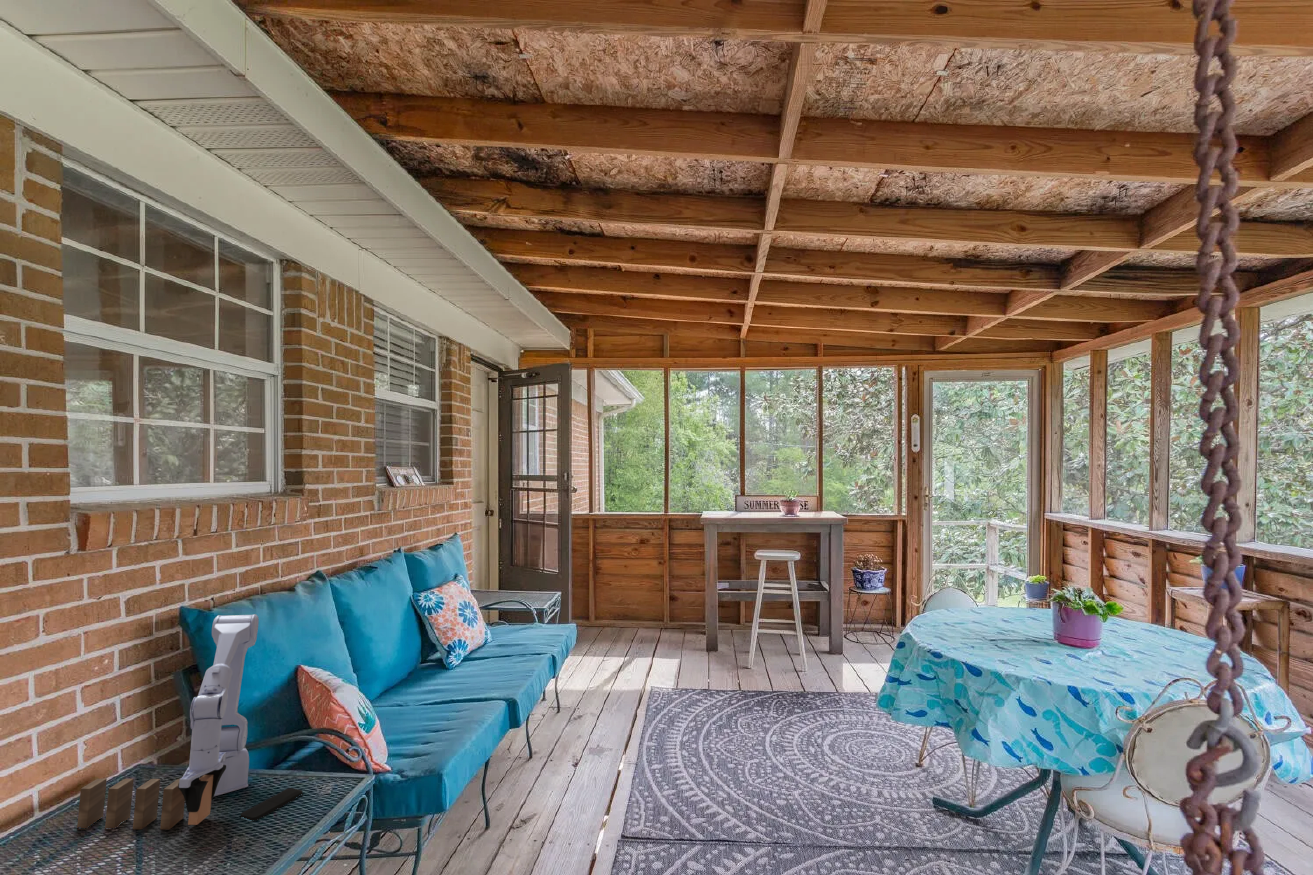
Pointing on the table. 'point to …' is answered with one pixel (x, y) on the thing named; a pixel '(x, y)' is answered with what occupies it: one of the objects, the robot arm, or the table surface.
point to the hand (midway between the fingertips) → (200, 805)
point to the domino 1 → (91, 803)
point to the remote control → (271, 804)
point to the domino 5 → (203, 803)
